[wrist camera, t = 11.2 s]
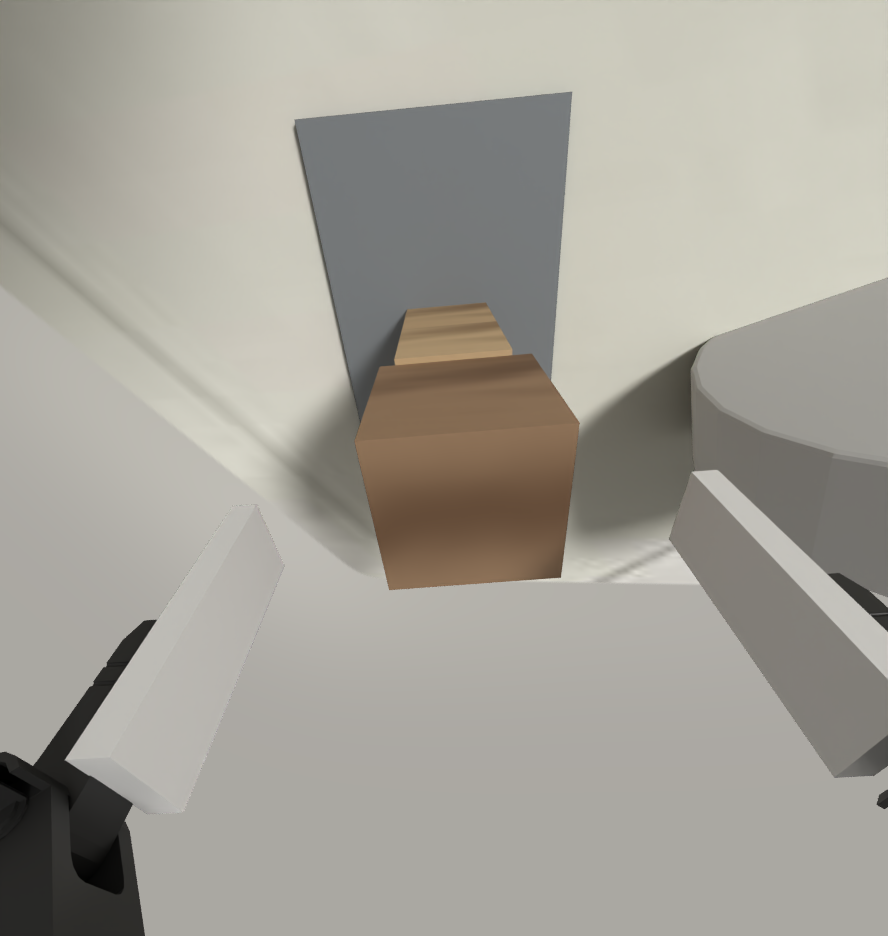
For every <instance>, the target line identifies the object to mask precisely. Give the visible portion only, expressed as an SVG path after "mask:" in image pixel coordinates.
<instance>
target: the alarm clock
mask: <svg viewBox="0 0 888 936" xmlns="http://www.w3.org/2000/svg"><path fill="white" fill-rule="evenodd" d="M691 408H692V453H693V463H694V469H695V471H708V470H718V471H719V472H720V473H721V474H723V475H724V476H725V477H726V478H727V479H728V480H729V481H730V482H731V483H732V484H733V485H734V486H735V487H736V488H737V489H738V490H739V491H740V492H741V493H742V494H744V495H745V496H746V497H747V498H748V499H749V500H750V501H751V502H752V503H753V504H754V505H755V506H756V507H757V508H758V509H759V510H760V511H761V512H762V513H763V514H765V515H766V516H767V517H768V518H769V519H770V520H771V521H772V522H773V523H774V524H775V525H776V526H777V527H778V528H779V529H780V530H781V531H782V532H783V533H784V534H786V535H787V536H788V537H789V538H790V539H791V540H792V541H793V542H794V543H795V544H796V545H797V546H798V547H799V548H800V549H801V550H802V551H803V552H804V553H805V554H807V555H808V556H809V557H810V558H811V559H812V560H813V561H814V562H815V563H816V564H817V565H818V566H819V567H820V568H821V569H822V570H823V571H824V572H825V573H826V574H831V573H840V574H842V575H844V576H845V577H847V578H849V579H850V580H852V581H854V582H855V583H857V584H859V585H860V586H862V587H864V588H865V589H867V590H869V591H872V592H875V593H878V594H880V595H883V596H886V597H888V278H885V279H882V280H879V281H876V282H873V283H870V284H867V285H864V286H862V287H859V288H856V289H853V290H850V291H847V292H844V293H841V294H838V295H835V296H832V297H829V298H826V299H823V300H820V301H817V302H814V303H812V304H809V305H806V306H803V307H800V308H797V309H794V310H791V311H788V312H785V313H782V314H779V315H776V316H773V317H770V318H767V319H764V320H761V321H759V322H756V323H753V324H750V325H747V326H744V327H741V328H738V329H735V330H732V331H729V332H726V333H723V334H720V335H717V336H715V337H713V338H711V339H709V340H708V341H707V342H706V343H705V344H704V345H703V346H702V347H701V348H700V349H699V351H698V354H697V356H696V358H695V361H694V363H693V366H692V368H691Z"/></svg>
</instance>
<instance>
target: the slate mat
mask: <svg viewBox="0 0 888 936" xmlns="http://www.w3.org/2000/svg"><path fill="white" fill-rule="evenodd" d="M571 100H572V92H565V93H555V94H545V95H535V96H525V97H515V98H505V99H495V100H485V101H475V102H466V103H456V104H446V105H436V106H426V107H416V108H406V109H396V110H386V111H376V112H366V113H356V114H346V115H336V116H326V117H316V118H306V119H296V120H295V124H296V129H297V133H298V138H299V143H300V147H301V152H302V156H303V161H304V166H305V170H306V175H307V179H308V184H309V189H310V193H311V198H312V202H313V207H314V212H315V216H316V221H317V225H318V230H319V235H320V239H321V244H322V248H323V253H324V258H325V262H326V267H327V271H328V276H329V281H330V285H331V290H332V294H333V299H334V304H335V308H336V313H337V317H338V322H339V327H340V331H341V336H342V340H343V345H344V350H345V354H346V359H347V363H348V368H349V373H350V377H351V382H352V386H353V391H354V396H355V400H356V405H357V410H358V414H359V419H360V423H361V420H362V417H363V414H364V411H365V408H366V405H367V402H368V400H369V397H370V394H371V391H372V388H373V385H374V382H375V379H376V376H377V373H378V370H379V367H381V366H393V365H395V361H394V358H395V355H396V351H397V347H398V343H399V339H400V335H401V331H402V328H403V324H404V320H405V316H406V312H407V309H417V308H429V307H440V306H451V305H463V304H474V303H485V302H486V304H487V306H488V307H489V309H490V311H491V313H492V314H493V316H494V318H495V320H496V321H497V323H498V325H499V327H500V328H501V330H502V332H503V334H504V335H505V337H506V339H507V341H508V342H509V344H510V346H511V348H512V355H520V354H533V356H534V357H535V359H536V360H537V362H538V363H539V365H540V366H541V367H542V369H543V370H544V372H545V373H546V375H547V376H548V378H549V379H550V381H551V373H552V359H553V345H554V332H555V318H556V304H557V291H558V277H559V264H560V250H561V236H562V223H563V209H564V195H565V182H566V168H567V154H568V141H569V127H570V113H571Z"/></svg>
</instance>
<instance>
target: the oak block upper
mask: <svg viewBox="0 0 888 936" xmlns="http://www.w3.org/2000/svg"><path fill="white" fill-rule="evenodd" d="M509 355H512V348H511V346H510V344H509V342H508V341H507V339H506V337H505V335H504V334H503V332H502V330H501V328H500V327H499V325H498V323H497V321H492V322H480V323H469V324H458V325H446V326H435V327H423V328H412V329H402V331H401V335H400V339H399V343H398V347H397V351H396V355H395V358H394V361H395V365H405V364H416V363H428V362H439V361H451V360H463V359H474V358H486V357H497V356H509Z"/></svg>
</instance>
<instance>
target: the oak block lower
mask: <svg viewBox="0 0 888 936" xmlns="http://www.w3.org/2000/svg"><path fill="white" fill-rule="evenodd" d="M492 321H496V320H495V318H494V316H493V314H492V313H491V311H490V309H489V307H488V306H487V304H486V302H485V303H474V304H463V305H451V306H440V307H429V308H417V309H407V312H406V316H405V320H404V324H403V328H402V329H412V328H423V327H435V326H446V325H458V324H469V323H480V322H492Z"/></svg>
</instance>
